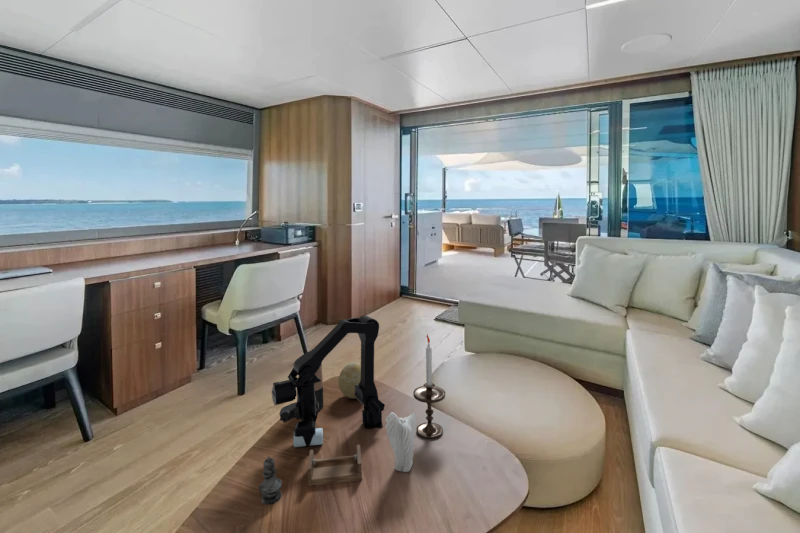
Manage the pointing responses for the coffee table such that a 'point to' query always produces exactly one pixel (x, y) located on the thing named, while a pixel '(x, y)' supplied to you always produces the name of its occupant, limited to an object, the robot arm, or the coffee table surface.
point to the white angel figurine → (402, 439)
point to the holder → (334, 469)
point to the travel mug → (319, 388)
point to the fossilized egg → (350, 379)
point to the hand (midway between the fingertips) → (308, 440)
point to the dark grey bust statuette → (270, 483)
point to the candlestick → (429, 400)
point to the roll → (316, 439)
